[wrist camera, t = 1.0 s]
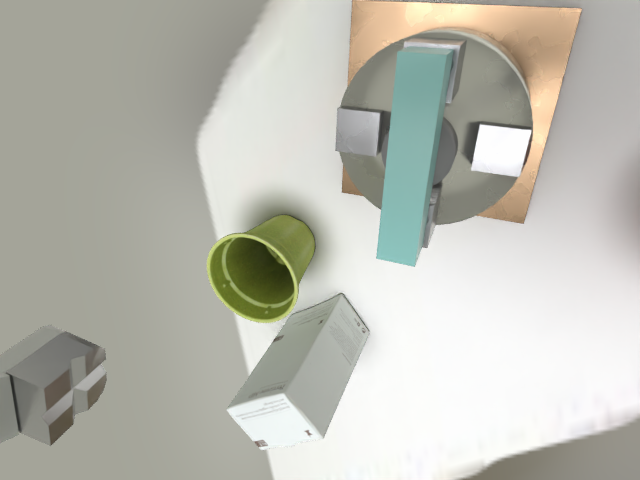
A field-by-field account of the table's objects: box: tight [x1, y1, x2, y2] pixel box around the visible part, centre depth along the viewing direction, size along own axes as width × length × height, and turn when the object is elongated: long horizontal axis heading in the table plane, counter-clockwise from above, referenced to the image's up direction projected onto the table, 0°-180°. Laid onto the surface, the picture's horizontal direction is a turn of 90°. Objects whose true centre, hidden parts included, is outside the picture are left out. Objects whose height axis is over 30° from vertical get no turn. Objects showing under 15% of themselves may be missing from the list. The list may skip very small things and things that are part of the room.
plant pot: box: [207, 215, 315, 323], centre depth 45 cm, size 9×9×9 cm
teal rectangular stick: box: [376, 46, 458, 267], centre depth 27 cm, size 4×12×5 cm, turn 178°
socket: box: [336, 0, 582, 248], centre depth 33 cm, size 16×16×12 cm
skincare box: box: [227, 294, 369, 450], centre depth 46 cm, size 8×6×15 cm
